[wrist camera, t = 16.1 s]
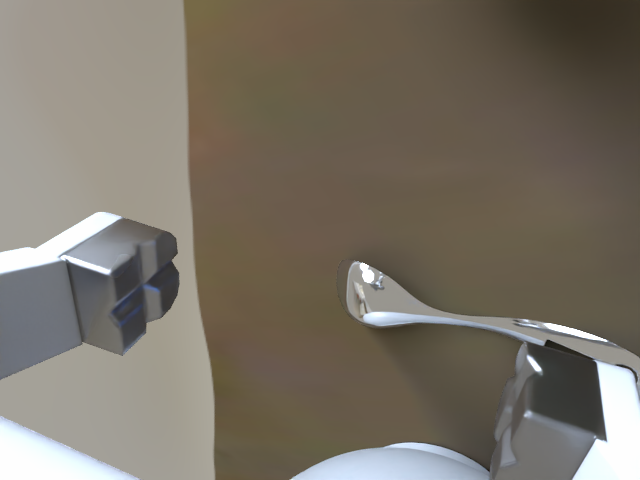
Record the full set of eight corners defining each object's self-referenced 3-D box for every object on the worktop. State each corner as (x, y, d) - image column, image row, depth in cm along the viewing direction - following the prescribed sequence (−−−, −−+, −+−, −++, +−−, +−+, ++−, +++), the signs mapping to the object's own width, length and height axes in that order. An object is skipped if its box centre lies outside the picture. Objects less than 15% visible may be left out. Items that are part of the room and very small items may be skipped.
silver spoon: (683, 389, 26) (641, 447, 29) (673, 346, 29) (636, 402, 31) (325, 262, 32) (317, 319, 34) (347, 236, 35) (337, 291, 37)
